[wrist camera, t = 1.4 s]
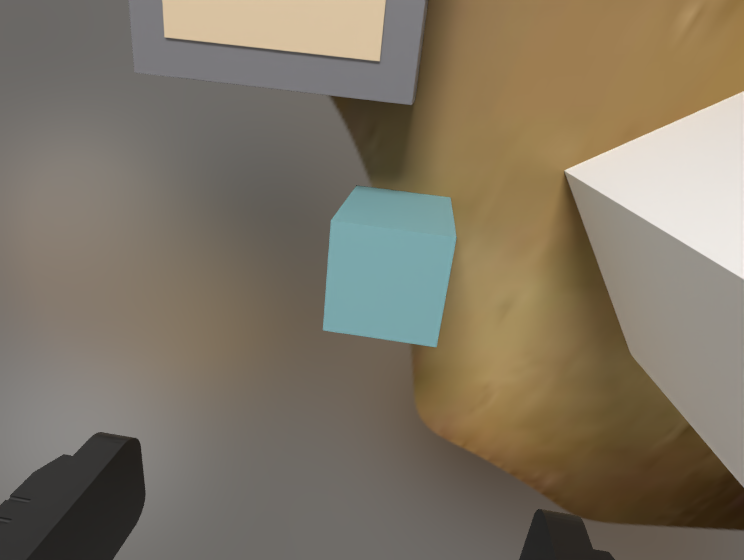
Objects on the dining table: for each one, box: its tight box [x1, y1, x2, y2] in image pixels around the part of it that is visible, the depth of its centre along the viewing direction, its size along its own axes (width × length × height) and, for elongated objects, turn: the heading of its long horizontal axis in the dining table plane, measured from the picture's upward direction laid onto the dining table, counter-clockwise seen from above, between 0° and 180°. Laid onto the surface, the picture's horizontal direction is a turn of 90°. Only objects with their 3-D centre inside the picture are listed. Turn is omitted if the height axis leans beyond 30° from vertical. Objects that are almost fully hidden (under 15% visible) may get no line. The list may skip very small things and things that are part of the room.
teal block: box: [323, 185, 457, 347], centre depth 23 cm, size 5×5×7 cm
